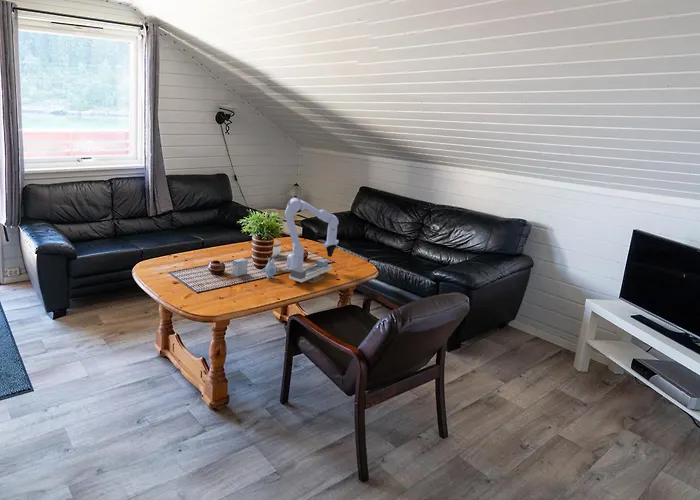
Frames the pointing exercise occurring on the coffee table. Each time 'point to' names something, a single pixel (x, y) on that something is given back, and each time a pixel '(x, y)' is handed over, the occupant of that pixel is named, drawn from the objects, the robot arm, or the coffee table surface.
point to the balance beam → (309, 273)
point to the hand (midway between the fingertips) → (329, 256)
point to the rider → (322, 263)
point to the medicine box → (239, 267)
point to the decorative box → (276, 247)
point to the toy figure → (270, 268)
